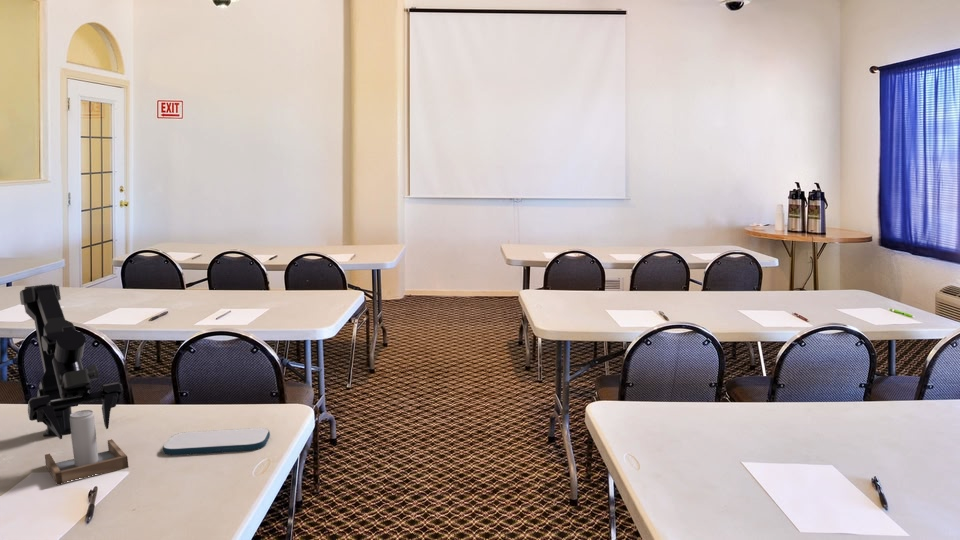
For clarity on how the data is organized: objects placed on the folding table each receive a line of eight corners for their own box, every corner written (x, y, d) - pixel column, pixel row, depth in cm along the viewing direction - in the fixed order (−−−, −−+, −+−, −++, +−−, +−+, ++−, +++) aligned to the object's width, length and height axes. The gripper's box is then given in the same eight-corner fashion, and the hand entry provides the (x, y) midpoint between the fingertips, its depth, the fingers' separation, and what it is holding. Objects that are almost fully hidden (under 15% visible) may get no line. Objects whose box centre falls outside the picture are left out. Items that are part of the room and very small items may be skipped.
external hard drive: (272, 434, 183) (271, 426, 182) (263, 451, 171) (263, 443, 171) (174, 440, 180) (173, 432, 180) (159, 458, 169) (158, 450, 168)
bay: (45, 465, 165) (44, 454, 164) (113, 449, 173) (112, 439, 173) (57, 485, 154) (56, 473, 154) (128, 467, 163) (127, 456, 162)
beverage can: (81, 470, 160) (76, 418, 159) (70, 465, 163) (64, 414, 161) (102, 463, 164) (98, 412, 163) (91, 458, 167) (86, 408, 165)
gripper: (24, 362, 157) (37, 425, 150) (117, 348, 169) (134, 405, 162) (22, 389, 165) (35, 450, 158) (112, 374, 176) (128, 429, 169)
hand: (84, 433), depth 161 cm, fingers open, 9 cm apart
